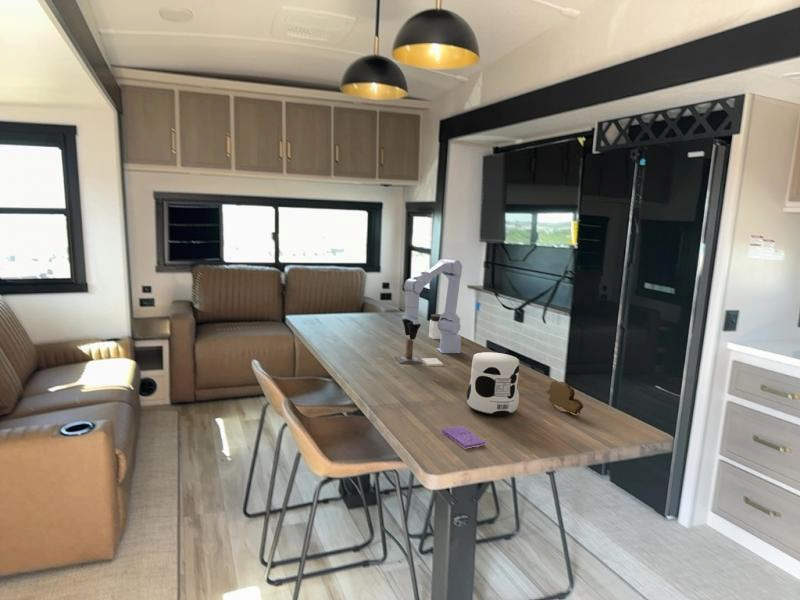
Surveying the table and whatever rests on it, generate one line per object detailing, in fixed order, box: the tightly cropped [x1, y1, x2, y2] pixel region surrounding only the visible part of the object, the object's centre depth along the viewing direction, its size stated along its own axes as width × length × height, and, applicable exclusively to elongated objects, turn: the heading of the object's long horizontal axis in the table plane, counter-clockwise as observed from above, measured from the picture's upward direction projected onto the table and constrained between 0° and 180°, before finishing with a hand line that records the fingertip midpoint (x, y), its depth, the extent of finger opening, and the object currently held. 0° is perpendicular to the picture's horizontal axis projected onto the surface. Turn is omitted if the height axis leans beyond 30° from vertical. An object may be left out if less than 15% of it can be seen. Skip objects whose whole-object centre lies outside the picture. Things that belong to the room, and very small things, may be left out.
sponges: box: [441, 425, 486, 448], centre depth 155 cm, size 7×13×2 cm, turn 26°
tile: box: [420, 357, 444, 367], centre depth 233 cm, size 7×1×9 cm
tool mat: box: [394, 355, 424, 365], centre depth 235 cm, size 10×10×1 cm
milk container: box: [466, 351, 520, 416], centre depth 178 cm, size 17×17×18 cm
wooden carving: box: [545, 380, 584, 415], centre depth 182 cm, size 16×5×10 cm, turn 28°
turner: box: [400, 338, 419, 362], centre depth 233 cm, size 7×6×9 cm
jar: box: [428, 313, 442, 340], centre depth 282 cm, size 9×8×12 cm
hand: (410, 337), depth 234 cm, fingers open, 7 cm apart
